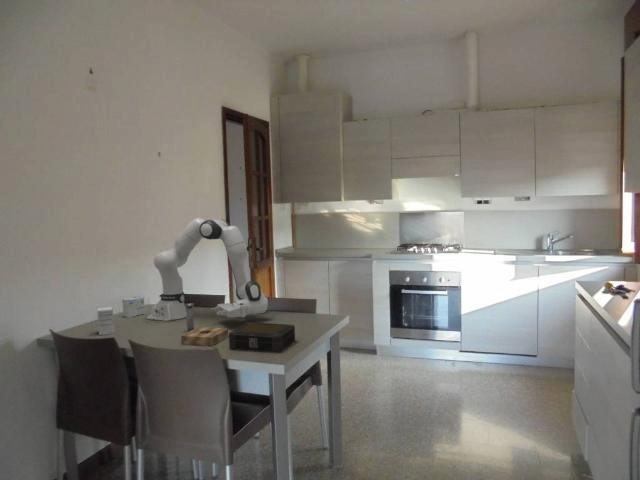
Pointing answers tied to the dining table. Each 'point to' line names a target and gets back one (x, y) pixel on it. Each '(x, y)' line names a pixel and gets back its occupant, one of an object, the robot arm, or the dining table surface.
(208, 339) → the block
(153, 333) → the dining table surface
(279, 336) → the cash box
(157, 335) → the dining table surface
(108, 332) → the supplement box
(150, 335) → the dining table surface
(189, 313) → the steel pin
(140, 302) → the light bulb box
